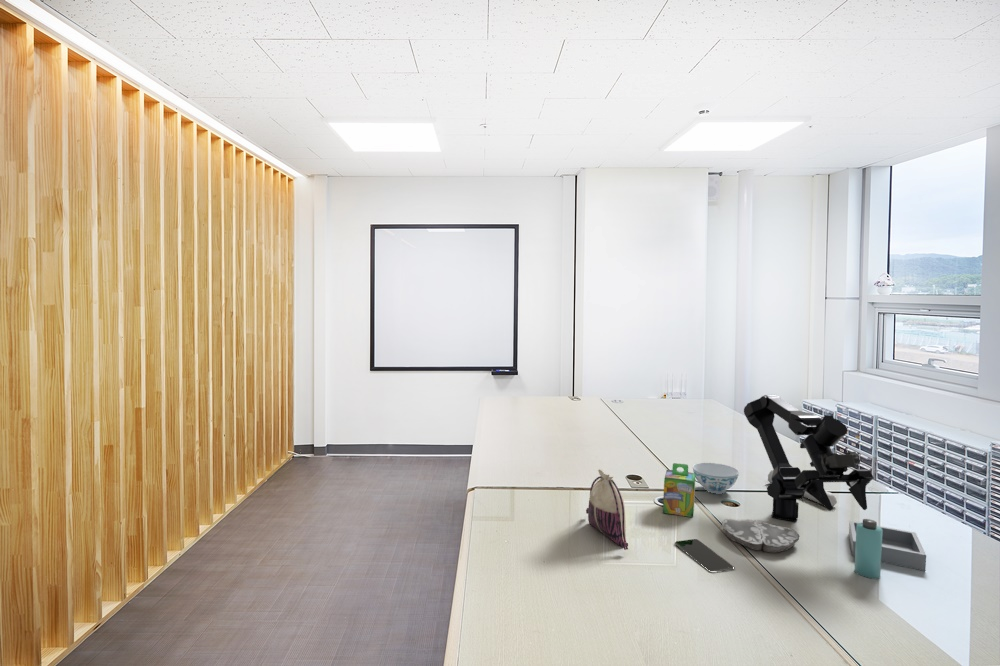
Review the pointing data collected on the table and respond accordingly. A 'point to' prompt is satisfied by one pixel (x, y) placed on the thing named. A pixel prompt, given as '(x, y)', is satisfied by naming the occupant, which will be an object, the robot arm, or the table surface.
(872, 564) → the capped bottle
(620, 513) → the pouch
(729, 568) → the smartphone
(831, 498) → the tube
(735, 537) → the brain slice
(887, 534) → the tray
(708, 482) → the chinaware
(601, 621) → the table surface
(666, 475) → the chalk box
